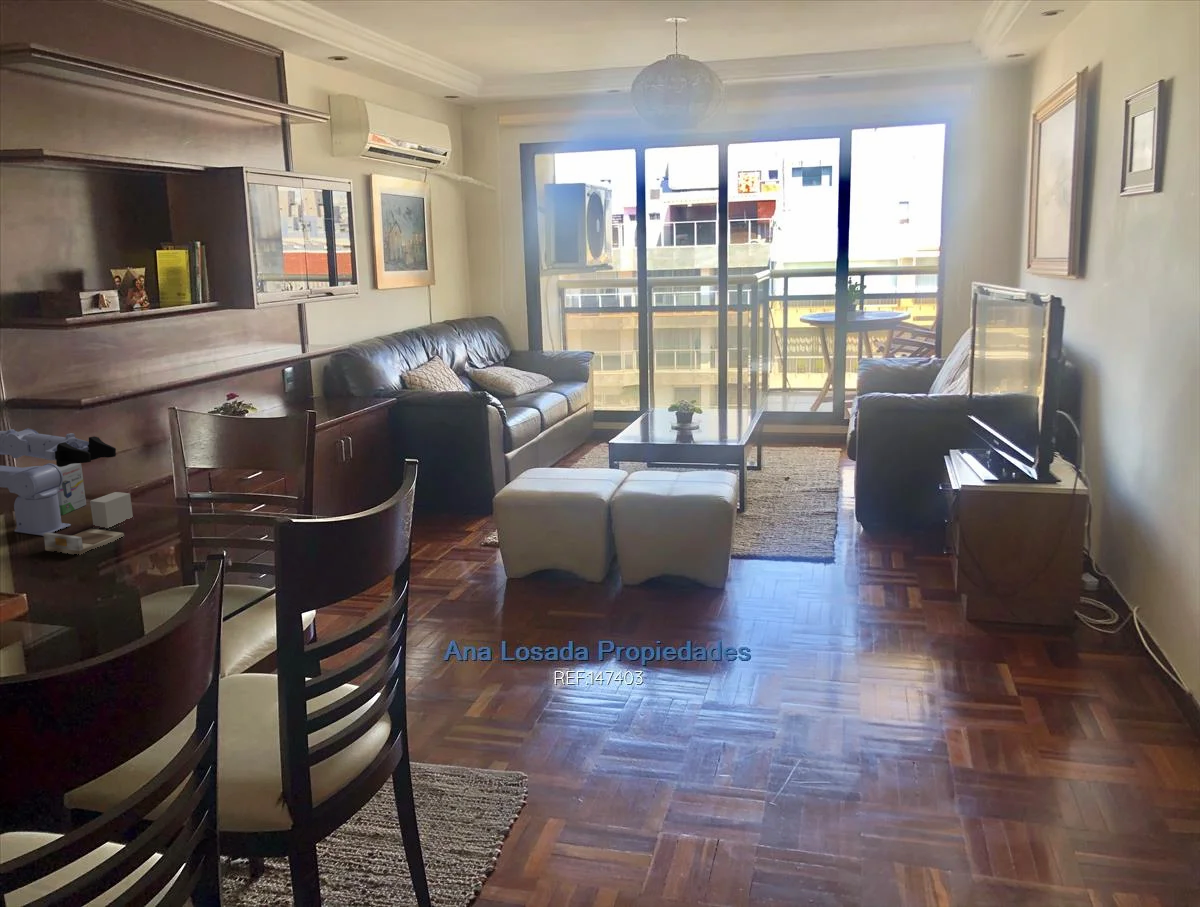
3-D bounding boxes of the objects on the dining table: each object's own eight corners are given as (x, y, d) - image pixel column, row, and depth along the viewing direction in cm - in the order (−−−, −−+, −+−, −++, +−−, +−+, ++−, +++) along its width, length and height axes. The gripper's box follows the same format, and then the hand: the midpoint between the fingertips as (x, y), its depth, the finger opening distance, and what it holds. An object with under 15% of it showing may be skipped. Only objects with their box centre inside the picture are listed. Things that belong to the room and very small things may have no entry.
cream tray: (45, 550, 215) (42, 533, 214) (91, 532, 227) (88, 516, 226) (79, 555, 212) (77, 538, 211) (124, 536, 224) (122, 521, 223)
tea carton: (93, 527, 231) (89, 500, 229) (118, 518, 238) (115, 491, 236) (108, 530, 229) (104, 502, 228) (133, 520, 237) (130, 493, 235)
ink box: (70, 504, 249) (64, 461, 246) (87, 505, 248) (81, 462, 245) (46, 514, 241) (39, 469, 238) (63, 515, 240) (57, 470, 237)
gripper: (28, 435, 215) (77, 442, 211) (77, 427, 228) (124, 433, 225) (28, 465, 216) (78, 473, 213) (78, 455, 230) (125, 462, 227)
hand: (102, 455), depth 219 cm, fingers open, 7 cm apart
